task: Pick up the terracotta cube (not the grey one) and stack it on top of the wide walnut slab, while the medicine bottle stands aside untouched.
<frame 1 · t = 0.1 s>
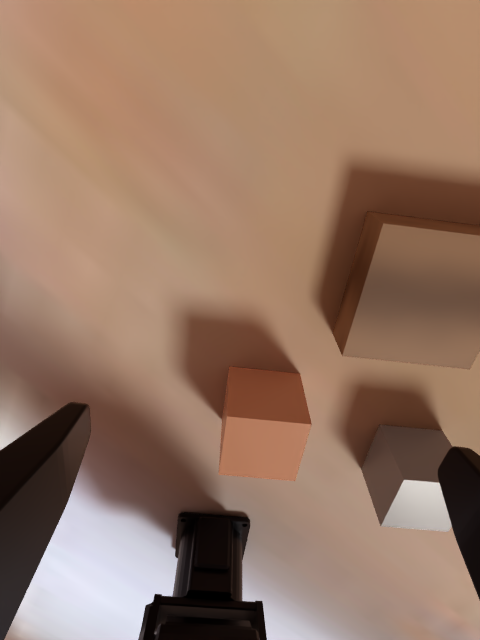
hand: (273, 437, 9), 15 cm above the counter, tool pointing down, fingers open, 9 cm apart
grey cube: (399, 449, 30), on the counter
terracotta cube: (259, 396, 27), on the counter
walnut slab: (409, 282, 23), on the counter
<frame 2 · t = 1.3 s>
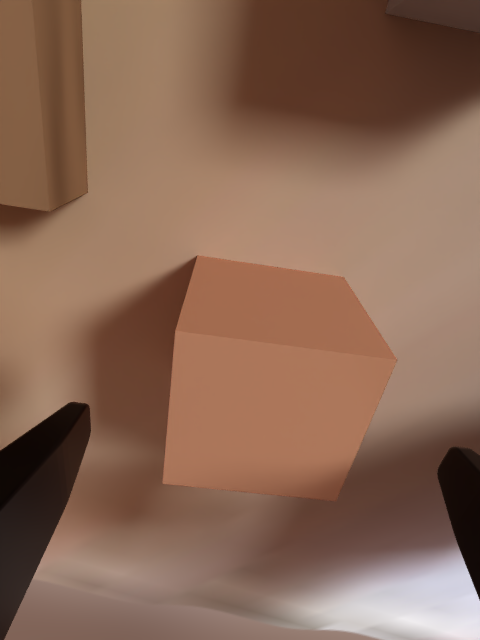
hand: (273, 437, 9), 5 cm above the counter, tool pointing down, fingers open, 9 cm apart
terracotta cube: (258, 328, 14), on the counter
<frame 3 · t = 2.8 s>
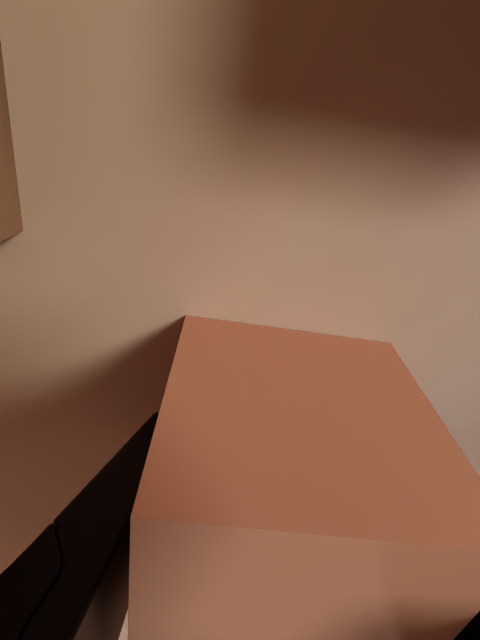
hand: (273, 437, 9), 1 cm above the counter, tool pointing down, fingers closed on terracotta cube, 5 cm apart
terracotta cube: (270, 408, 10), on the counter, touching gripper
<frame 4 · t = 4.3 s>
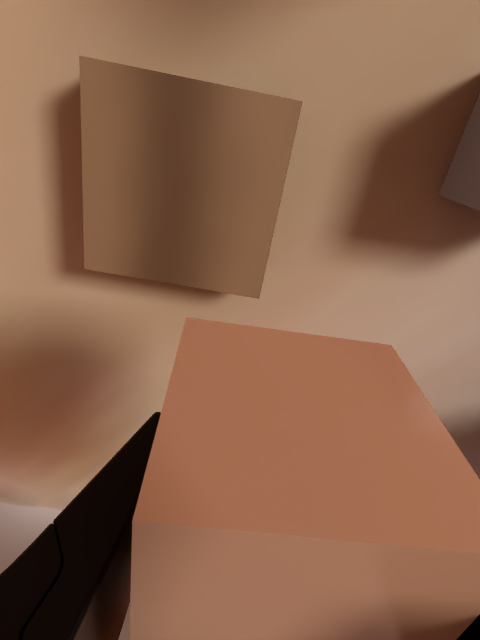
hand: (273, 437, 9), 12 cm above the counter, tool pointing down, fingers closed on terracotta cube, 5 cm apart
terracotta cube: (270, 410, 10), point 11 cm above the counter, touching gripper
walnut slab: (191, 183, 18), on the counter
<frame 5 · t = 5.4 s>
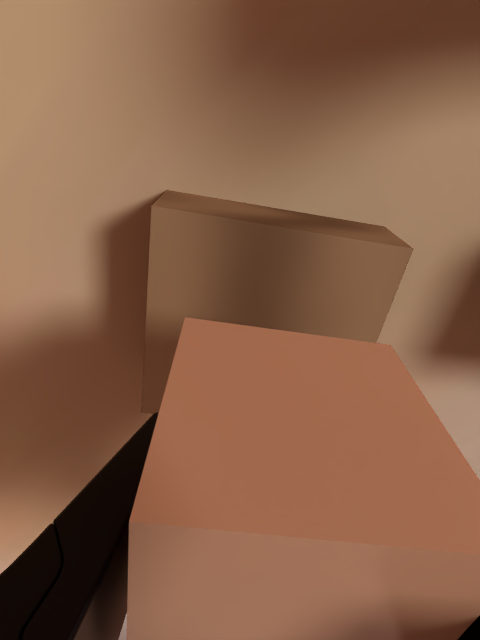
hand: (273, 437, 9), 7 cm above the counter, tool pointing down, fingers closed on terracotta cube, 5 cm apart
terracotta cube: (269, 410, 10), point 6 cm above the counter, touching gripper
walnut slab: (257, 302, 16), on the counter
when the fingers open (5 cm above the counter, at t = 6.1 s): terracotta cube drops 2 cm, resting on walnut slab.
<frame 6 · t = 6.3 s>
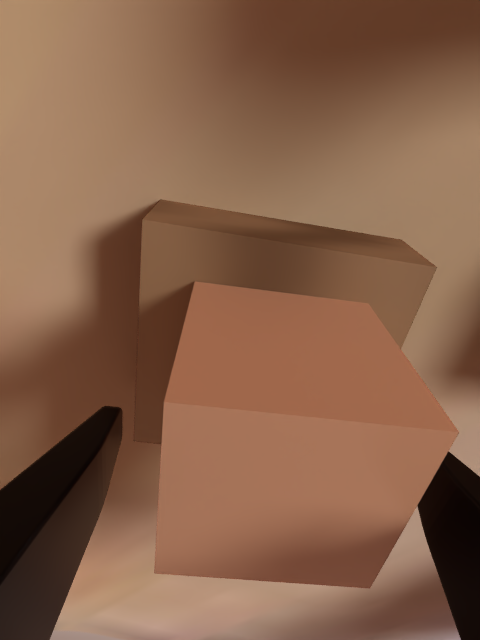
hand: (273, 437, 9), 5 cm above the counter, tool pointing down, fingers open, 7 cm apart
terracotta cube: (267, 364, 12), point 3 cm above the counter, touching walnut slab
walnut slab: (260, 320, 14), on the counter, touching terracotta cube
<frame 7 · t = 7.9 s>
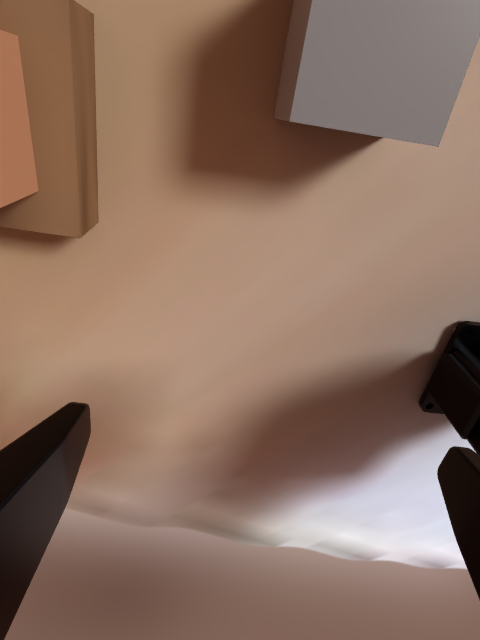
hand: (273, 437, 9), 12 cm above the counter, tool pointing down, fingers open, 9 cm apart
grey cube: (345, 59, 15), on the counter
walnut slab: (4, 113, 16), on the counter, touching terracotta cube
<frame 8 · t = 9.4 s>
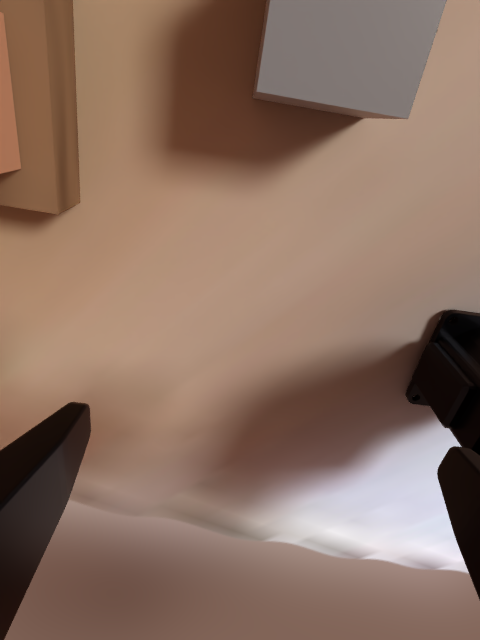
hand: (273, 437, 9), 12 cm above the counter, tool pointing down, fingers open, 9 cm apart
grey cube: (323, 38, 15), on the counter
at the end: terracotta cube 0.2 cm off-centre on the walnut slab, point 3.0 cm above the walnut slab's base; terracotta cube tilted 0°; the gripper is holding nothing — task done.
